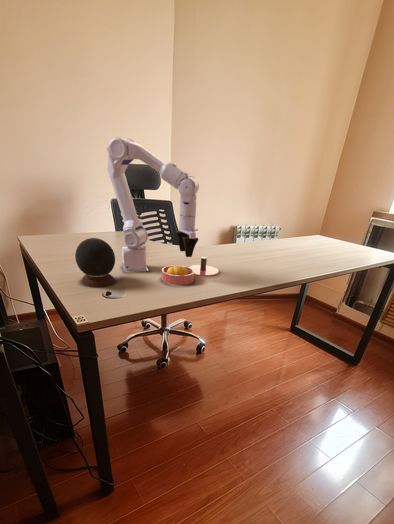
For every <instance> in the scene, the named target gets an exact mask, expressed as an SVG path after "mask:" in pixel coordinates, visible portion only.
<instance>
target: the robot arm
mask: <svg viewBox="0 0 394 524" xmlns="http://www.w3.org/2000/svg"><path fill="white" fill-rule="evenodd" d="M106 151H107V154H108V155H107V156H108V158H107V172H108V175H109V179H110V183H111V185H112V188H113V191H114V195H115V198H116V201H117V203H118V207H119V210H120V213H121V217H122V220H123V222H124V223H123V227H122V231H123V232H122V233H123V242H124V244H125V245H126V246H123V247H121V259H122V260H121V261H122V262H121V263H122V264H121V265H122V268H123V270H124V272H125V273H137V272H139V273H140V272H149V268H148V266H147V245H146V243H147V241H148V239H149V235H148V231H147V230H146V229H145V227H144V225H143V222H142V221H141V220H140V219H139V217H138V213H137V210H136V207H135V204H134V200H133V197H132V193H131V190H130V187H129V185H128V180H127V177H126V173H125V172H126V170H127V169H128V166H129V165H130V164H131V163H132V162H133V161H134V160H139V161H141V162H143V163H144V164H146V165H147V166H149V167H151V168H152V169H153V170H155V171H157V172H158V173H159V174H160V179H162V180H163V181H164V182H166V183H167V184H168V185H170V186H171V187H172V188H174V189H175V190H177V191H178V192H179V195H180V196H179V197H180V198H179V218H178V219H179V223H178V231H177V230H176V231H175V235H176V238H177V241H178V247H179V250H180V252H184V253H185V257H186V258H192V257H193V254H194V250H195V248H196V245H197V244H198V242H199V237H196V235H197V233H196V232H198V231H199V229H198V227H196V214H197V193H198V191H199V190H200V189H199V188H200V183H199V181H198V180H197V178H195V176H193V175H189V173H188V172H187V171H183V170H182V169H180V168H179V167H177V165H178V164H177V163H175V162H170V161H169V162H166V163H165V162H164V161H163V160H161V159H160V158H159V157H158V156H156V155H154V154H153V153H152V152H150V150H148V149H147V148H146V147H144V146H143V145H142V144H140V143H138V142H135V141H134V140H133V139H131V138H124V137H123V138H122V137H119V136H116V137H115V136H114V137H113V138H111V140H110V141H109V143H108V145H107V146H106Z"/></svg>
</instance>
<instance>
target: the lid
mask: <svg viewBox="0 0 394 524" xmlns="http://www.w3.org/2000/svg"><path fill="white" fill-rule="evenodd" d="M207 261H208V257H207V256H201V257H200V264H194V265H190V266H188V267H189V268H192V269H193V270H194V276H199V277H214V276H217V275H218V274H219V271H220V270H219V269H218V268H216V267H215V266H211V265H207Z"/></svg>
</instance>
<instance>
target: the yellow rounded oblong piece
mask: <svg viewBox="0 0 394 524" xmlns="http://www.w3.org/2000/svg"><path fill="white" fill-rule="evenodd" d="M171 266H172V267H169V268H168V270H167V274H171V275H181V276H182V275H188V274H190V271H187V269H186V268H185V267H184V266H185V265H179V266H173V265H171Z"/></svg>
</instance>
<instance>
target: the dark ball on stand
mask: <svg viewBox="0 0 394 524" xmlns="http://www.w3.org/2000/svg"><path fill="white" fill-rule="evenodd" d="M74 259H75V262H76V265H77V267H78V269H79V270H80V272H82V273H83V274H84V275H83V276H82V278H81V283H82V285H84V286H86V287H90V288H104V287H109V286H111V285H113V284H114V283H115V278H114V276H113V275H112V274H110V273H111V272H112V271H113V270H114V267H115V265H116V255H115V251H114V249H113V248H112V246H111V245H110V244H109V243H108V242H106V241H105V240H103V239H101V238H97V237H89V238H86V239H85V240H83V241H81V242H80V243H79V244H78V246H77V247H76V250H75V255H74Z"/></svg>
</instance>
